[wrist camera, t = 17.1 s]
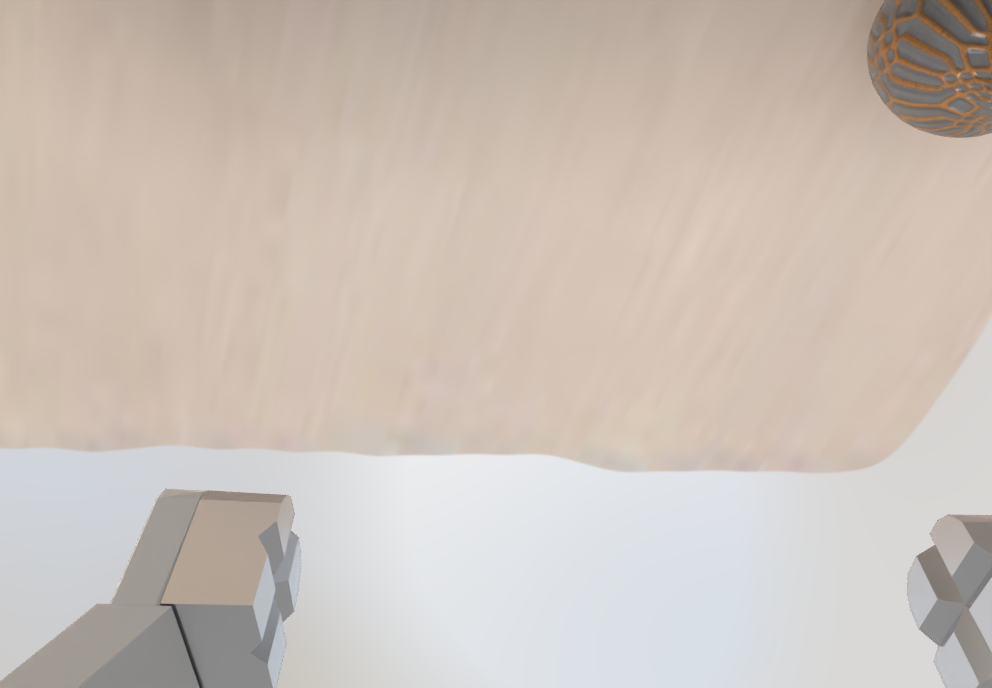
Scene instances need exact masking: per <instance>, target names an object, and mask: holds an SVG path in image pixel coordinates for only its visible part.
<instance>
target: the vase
mask: <svg viewBox="0 0 992 688" xmlns="http://www.w3.org/2000/svg"><path fill="white" fill-rule="evenodd" d="M867 59H868V68H869V73H870V76H871V80H872V83H873V85H874V87H875V90H876V91H877V93H878V95H879V96H880V98H881V99H882V101H883V102H884V103H885V104H886V106H887V107H888V108H889V109H890V110H891V111H892V112H893V113H894V114H895V115H896V116H898V117H899V118H900V119H901V120H903V121H904V122H906V123H907V124H909V125H911V126H913V127H915V128H917V129H919V130H922V131H925V132H928V133H931V134H935V135H939V136H945V137H955V138H964V137H975V136H980V135H985V134H989V133H992V0H886V1H885V2H884V4H883V5H882V7H881V8H880V10H879V12H878V14H877V16H876V18H875V20H874V22H873V25H872V28H871V32H870V36H869V41H868V48H867Z"/></svg>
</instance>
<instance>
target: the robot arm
mask: <svg viewBox="0 0 992 688" xmlns="http://www.w3.org/2000/svg"><path fill="white" fill-rule="evenodd" d="M294 515H295V513H294V508H293V504H292V499H291V496H288V495H277V494H276V495H275V494H259V493H241V492H224V491H200V490H179V489H165V490H164V491H163V492H162V494H161V495H160V496H159V497H158V498H157V499H156V500H155V503H154V505H153V507H152V509H151V512H150V514H149V516H148V518H147V521H146V523H145V526H144V527H143V530H142V532H141V534H140V537H139V539H138V541H137V543H136V546H135V548H134V550H133V552H132V555H131V557H130V559H129V561H128V564H127V566H126V568H125V570H124V573H123V575H122V577H121V580H120V582H119V584H118V586H117V589H116V591H115V593H114V595H113V598H112V600H111V602H110V604H96V605H95V606H94V607H92V608H91V609H90V610H89V611H88V612H86V613H85V614H84V615H82V616H81V617H80V618H79V619H77V620H76V621H75V622H74V623H72V624H71V625H70V626H69V627H67V628H66V629H65V630H64V631H63V632H61V633H60V634H59V635H57V636H56V637H55V638H54V639H52V640H51V641H50V642H49V643H47V644H46V645H45V646H44V647H43V648H41V649H40V650H39V651H37V652H36V653H35V654H34V655H32V656H31V657H30V658H29V659H27V660H26V661H25V662H24V663H22V664H21V665H20V666H19V667H17V668H16V669H15V670H14V671H12V672H11V673H10V674H9V675H7V676H6V677H5V678H4V679H2V680H1V681H0V688H276V686H277V682H278V678H279V674H280V670H281V665H282V661H283V657H284V652H285V648H286V639H285V633H284V629H283V623H282V622H283V621H285V620H286V619H287V617H289V616H290V615H291V614H292V613H293V612H294V609H295V605H296V600H297V595H298V590H299V581H300V571H301V550H300V543H299V537H298V536H297V535H295V534H294V533H293V532H292V531H291V527H292V523H293V519H294ZM930 535H931V538H932V540H933V541H934V543H935V545H934V546H933V547H931V548H929V549H928V550H926V551H924V552H923V553H921V554H919V555H918V556H916V558H915V560H914V562H913V565H912V566H911V568H910V570H909V572H908V583H907V596H908V601H909V605H910V609H911V612H912V614H913V617H914V619H915V622H916V624H917V626H918V628H919V630H921V631H922V632H923V633H924V634H925V635H927V636H928V637H929V638H930V639H931V640H932V641H933V642H935V643H936V644H937V645H938V649H937V652H936V656H935V659H934V663H935V665H936V668H937V670H938V672H939V674H940V676H941V679H942V681H943V683H944V685H945V687H946V688H992V515H946V516H944V517H943V518H941V519H939V520H937V522H936V524H935V526H934V527H933V529H932V531H931V532H930Z"/></svg>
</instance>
